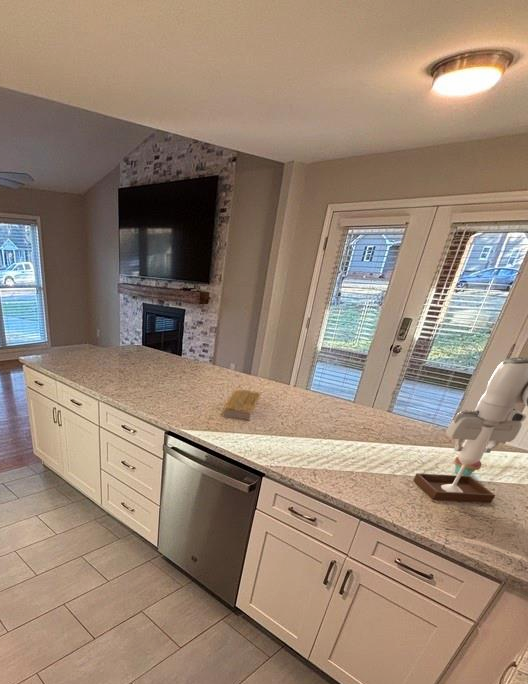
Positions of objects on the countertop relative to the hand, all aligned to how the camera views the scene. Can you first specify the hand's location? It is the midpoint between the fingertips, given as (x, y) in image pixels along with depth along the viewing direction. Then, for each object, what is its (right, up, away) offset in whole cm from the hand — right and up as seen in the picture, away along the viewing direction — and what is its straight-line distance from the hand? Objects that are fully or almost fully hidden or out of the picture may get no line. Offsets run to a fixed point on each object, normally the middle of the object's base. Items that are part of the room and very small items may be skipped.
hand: (471, 451), depth 138 cm
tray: (-1, -13, +9) cm, 15 cm away
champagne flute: (-1, -12, +8) cm, 15 cm away
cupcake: (+13, -5, +21) cm, 25 cm away
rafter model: (-59, +33, +75) cm, 101 cm away
